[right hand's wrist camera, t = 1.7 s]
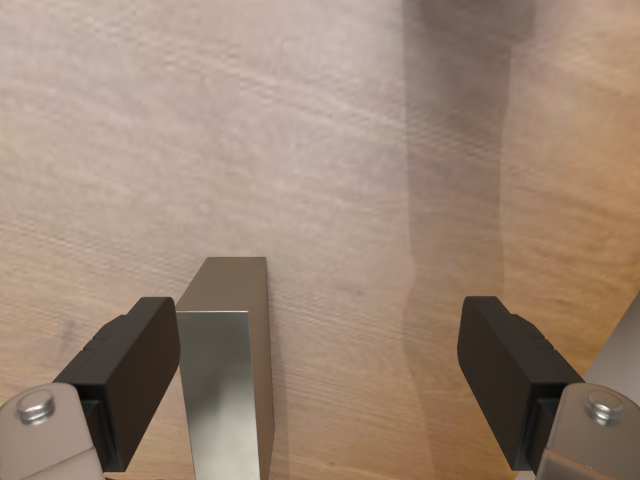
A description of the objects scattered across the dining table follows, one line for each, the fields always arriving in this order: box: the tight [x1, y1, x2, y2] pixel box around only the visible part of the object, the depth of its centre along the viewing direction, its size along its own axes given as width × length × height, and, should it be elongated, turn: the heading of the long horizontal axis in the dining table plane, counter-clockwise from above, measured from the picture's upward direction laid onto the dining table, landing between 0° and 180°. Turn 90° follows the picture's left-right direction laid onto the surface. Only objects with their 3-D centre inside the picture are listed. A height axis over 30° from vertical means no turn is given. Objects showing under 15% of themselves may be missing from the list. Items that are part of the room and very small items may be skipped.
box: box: [175, 257, 274, 480], centre depth 42 cm, size 24×6×11 cm, turn 0°
